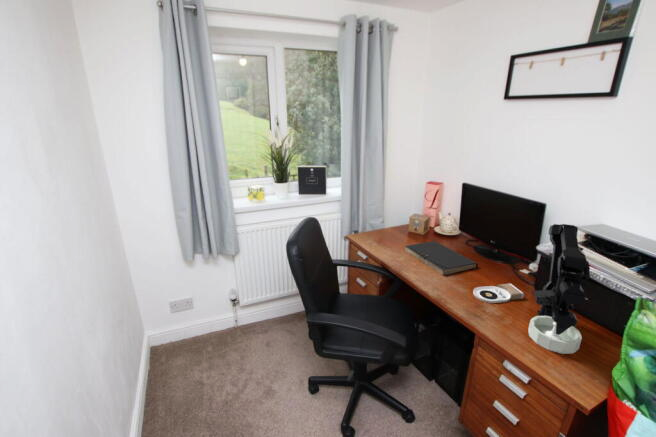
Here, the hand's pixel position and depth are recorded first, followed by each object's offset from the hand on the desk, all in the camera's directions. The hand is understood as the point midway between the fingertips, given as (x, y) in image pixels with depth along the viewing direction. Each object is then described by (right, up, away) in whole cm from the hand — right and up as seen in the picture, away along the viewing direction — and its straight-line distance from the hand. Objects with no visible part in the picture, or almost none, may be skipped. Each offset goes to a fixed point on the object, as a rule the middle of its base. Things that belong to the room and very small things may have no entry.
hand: (555, 326), depth 112 cm
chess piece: (0, -5, +2) cm, 5 cm away
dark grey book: (-19, +15, +66) cm, 70 cm away
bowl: (0, -5, +2) cm, 5 cm away
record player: (-6, +4, +30) cm, 31 cm away
